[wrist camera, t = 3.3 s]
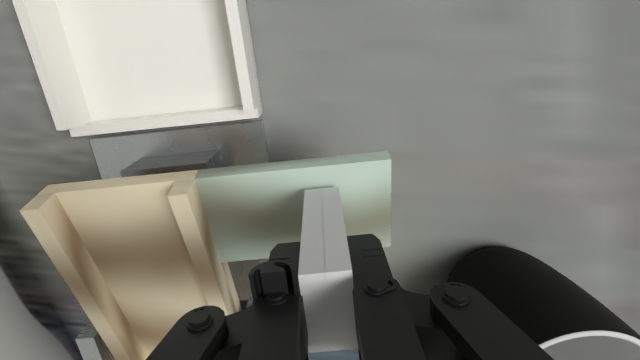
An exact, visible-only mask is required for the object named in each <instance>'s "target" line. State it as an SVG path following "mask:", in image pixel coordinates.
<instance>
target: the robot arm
mask: <svg viewBox="0 0 640 360" xmlns="http://www.w3.org/2000/svg"><path fill="white" fill-rule="evenodd" d="M248 276H249V282H250V287H251V292H252V297H253V302H252V305H251V306H249V307H248V308H246V309H244V310H241V311H239V312H236V313H233V314H230V315H226V316H225V313H224V311H223V310H222V309H221V308H220V307H217V306H212V305H211V306H202V307H198V308H195V309H193V310H191V311H189V312H187V313H186V314H184V315H183V316H182V317H181V318H180V319H179V320H178V321H177V322H176V323H175V325H174V326H173V327H172V328H171V329H170V331H169V332H168V333H167V334H166V335H165V337H164V338H163V339H162V340H161V342H160V343H159V344H158V345H157V346H156V348H155V349H154V350H153V351H152V352H151V354H150V355H149V356H148V357H147V358H146V360H308V349H309V353H312V352H324V351H335V350H346V349H358V350H359V360H554V359H553V358H552V357H551V356H550V355H549V354H547V353H546V352H545V351H544V350H543V349H542V348H541V347H540V346H539V345H538V344H536V343H535V342H534V341H533V340H532V339H531V338H530V337H529V336H528V335H526V334H525V333H524V332H523V331H522V330H521V329H520V328H519V327H518V326H516V325H515V324H514V323H513V322H512V321H511V320H510V319H509V318H508V317H507V316H505V315H504V314H503V313H502V312H501V311H500V310H499V309H498V308H497V307H495V306H494V305H493V304H492V303H491V302H490V301H489V300H488V299H487V298H485V297H484V296H483V295H482V294H481V293H480V292H479V291H478V290H476V289H474V288H473V287H471V286H469V285H466V284H463V283H458V282H445V283H441V284H438V285H436V286H435V287H434V288H433V289H432V290H431V292H430V295H423V294H416V293H411V292H409V291H406V290H404V289H402V288H401V286H400V285H399V283H398V282H397V280H395V279H393V277H392V274H391V271H390V268H389V265H388V262H387V259H386V256H385V253H384V250H383V247H382V244H381V241H380V239H378V238H377V237H376V236H375V235H373V234H362V235H352V236H346V229H345V223H344V217H343V211H342V205H341V199H340V193H339V187H329V188H319V189H309V190H305V192H304V205H303V218H302V231H301V241H300V242H289V243H279V244H277V245H276V246H275V247H274V248H273V249H272V250H271V251H270V256H269V261H265V262H263V263H261V264H258V265H257V266H255V267H254V268H253V269H251V271H250V273H249V274H248Z"/></svg>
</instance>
